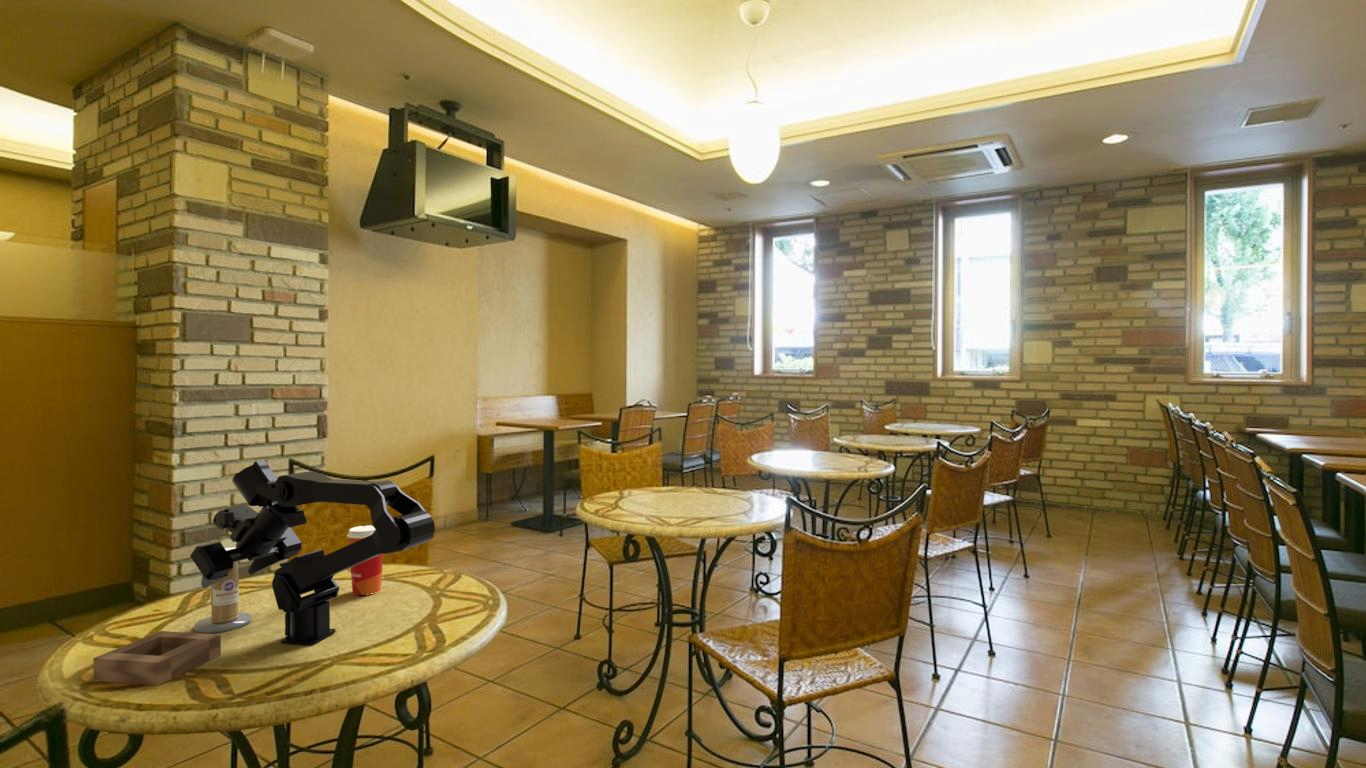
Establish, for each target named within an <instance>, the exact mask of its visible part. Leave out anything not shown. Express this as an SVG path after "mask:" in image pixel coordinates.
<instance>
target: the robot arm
mask: <svg viewBox="0 0 1366 768" xmlns="http://www.w3.org/2000/svg"><path fill="white" fill-rule="evenodd" d="M231 480H232V483H233V485H234V486H235V488H237V490H238V492H239V493H240V494H241V496H242V498H243V499H244V500H245V501H246V503H247V504H248V505H245V504H242V505H235V506H230V507H225V508H224V509H220V510H218V512H216V514H214V516H213V519H212V524H213V525H214V526H215V527H216V528H218V529H219V530H227V531H228V532H229V533H231V534H230V536H229V539H230V540H231V541H232V542H233V543H235V547H234V548H235V549H231V550H227V551H226V550H225V548H226V547H224V545H223V544H222V542H221V541H213V542H208V543H203V544H200V545H197V546H195V548H193V550H192V551H191V553H190V555H189V557H190V558H191V560H192V561H193V563H194V564H195V567H197V569H198V570H199V572H200V573H201V582H200V585H201V587H202V588H203V589H204V590H205V589H207V588H209V587H211V585H213V584H214V583H216V582H218V581H219V580H221V579H223V578H225V577H226V576H228V574H227V573H229V572H230V571H231V570H232V569H233V563H235V562H238V563H239V562H242V561H246V560H248V561H249V562H251V561H252V563H251V564H250V565H249V567H248V570H247V572H248V574H249V575H250V576H251V575H255V574H257V573H259V572H261V571H263V570H265V569H267V568H270V567H272V566H275V565H277V564H278V565H279V566H280V567H279V568H277V569H276V570H275V571H274V573H273V579H272V581H271V586H272V591H273V594H274V598H275V601H276V605H277V609H278V610H281V611H283V612H284V633H285V635H284V636H285V637H282V638H280V641H279V642H280V643H281V644H297V645H314V644H316V643H319V642H320V641H322V640H323V639H325V638H327V637H329V636H330V635H333V634H335V633H336V628H331V625H330V624H331V622H330V621H331V620H330V619H331V617H330V616H331V613H330V612H331V607H330V606H331V605H330V604H331V602H330V600H332V599H336V598H338V594H339V591H340V586H339V584H338V583H337V582H336V581H335V579H334V576H335V575H337V574H339V573H341V572H344V571H346V570H349V569H351V567H353V566H356V565H358V564H360V563H363V562H365V561H367V560H370V559H372V558H374V557H377V556H379V555H381V554H383V555H388V554H393V553H398V552H402V551H405V550H408V549H411V548H413V547H417V546H419V545H423V544H426V543H428V542H430V541H432V540H433V538H434V536H435V535H434V534H435V531H436V530H435V529H436V525H435V521H434V519H433V517H432V516H431V514H430V513H429V512H427V510H426V509H425V508H424V507H423V506H422V504H421V503H420V502H419V501H417V500H416V499H414V498H412V497H411V496H410V495H409V494H407V493H405V492H404V491H402V489H401V488H400V487H399V486H398V484H397V483H395V482H394V481H392V480H382V481H381V480H380V481H379V480H377V481H376V480H360V479H359V480H357V479H337V478H336V479H335V478H331V477H328V476H327V475H326V474H324V473H320V472H317V471H313V470H311V471H302V472H296V473H290V474H283V475H280V476H278V477H277V475H276V474H275V473H274V471H273V470H272V469H271V467H270V465H269V464H268V462H267V461H266V460H264V459H263V460H258V461H257V460H256V461H254V462H253V463H252V465H250V466H247V467H245V468H243V469H241V470H240V471H239V472H237V473H235V474H234V476H233V477H232V479H231ZM312 503H329V504H345V505H346V504H347V505H361V506H366V507H367V508H368V510H369V511H370V512H369V513H370V517H371V518H370V519H371V524H372V525H371V526H373V527H374V528H375V531H374V532H373V534H371V535H370V536H368V537H365V538H363V539H361V540H359V541H356V542H354V543H352V544H350V545H349V544H347V545H345V546H343V547H341V548H339V549H337V550H334V551H332V552H330V553H327V554H326V555H325V551H324V549H323V548H322V549H321V548H320V549H319V550H315V551H312V552H308V553H305V554H301V555H298V554H299V553H300V552H301V550H302V549H303V547H302V546H303V544H302V543H303V542H302V541H301V539H300V538H299V537H298V536H297V534H296V532H294V530H293V528H294V527H298V526H303V525H306V524H307V522H308V521H307V517H306V515H305V510H304V509H303V510H302V509H301V508H300V506H303V505H308V504H312ZM387 505H388V507H390V508H391V509H393V511H396V512H398V513H399V514H401V515H396V516H393V517H392V515H391V514H390V513H389V512H388V509H387ZM257 506H258V507H259V508H260V507H262V508H261V509H260V510H259V511H256V510H254V509H253V508H252V507H257ZM291 557H293V558H291ZM288 559H290V560H288ZM286 560H287V561H286ZM283 561H285V562H283ZM309 592H310V594H307V593H309ZM311 592H312V593H311ZM304 594H307V595H304ZM301 595H304V596H301Z"/></svg>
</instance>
